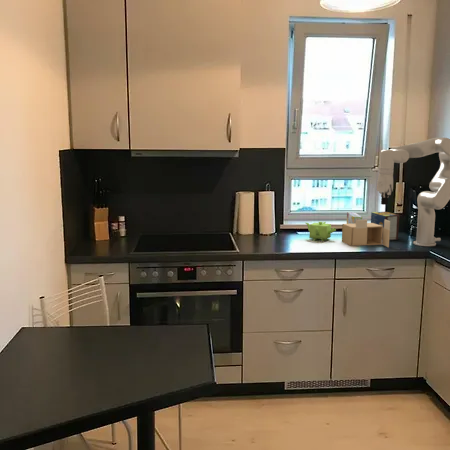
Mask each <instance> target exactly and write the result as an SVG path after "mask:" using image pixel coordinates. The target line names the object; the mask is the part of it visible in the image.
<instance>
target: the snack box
mask: <svg viewBox="0 0 450 450" xmlns="http://www.w3.org/2000/svg"><path fill="white" fill-rule="evenodd" d="M356 220H363V216H362V215H360V214H358V213H356V212H355V211H349V212H346V224H355V223H356Z"/></svg>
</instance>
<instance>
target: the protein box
mask: <svg viewBox="0 0 450 450" xmlns="http://www.w3.org/2000/svg"><path fill="white" fill-rule="evenodd" d="M384 220H388V221H390V235H389V241H394V240H399V227H400V214H397V213H392V212H388V211H373V212H372V211H371V213H370V223H375V224H378V225H381V226H383V228H384ZM382 238H383V234H382Z"/></svg>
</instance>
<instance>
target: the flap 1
mask: <svg viewBox="0 0 450 450" xmlns="http://www.w3.org/2000/svg"><path fill="white" fill-rule="evenodd" d="M367 223H368V219H362V220H356V228H353V240H352V246H351V247H354V245H360V246H368V245H367Z"/></svg>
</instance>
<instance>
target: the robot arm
mask: <svg viewBox="0 0 450 450" xmlns="http://www.w3.org/2000/svg"><path fill="white" fill-rule="evenodd" d="M435 153H438V157H439V158H438V159H439V161H440V162H439V163H440V164H439V168H438V170H437V171H436V173H435V175H434V176H433V178H432V179H431V181H430V182H429V186H428V187H429V189H430V191H429V190H424V191H421V192H420V193H419V194H418V195H417V200H416V201H417V203H416V204H417V210H418V211H417V225H416V226H417V227H416V240H414V241H412V244H413V245H415V246H420V247H436V246H437V243H436V242H441V240H442V239H441V237H435V236H434V235H435V224H436V223H435V222H436V212H435V210H442V209H443V208H445V206H446V205H447V204H448V202H449V201H450V138H448V137H433V138H428V139H425V140H422V141H420V142H419V141H418V142H414V143H409V144H404V145H400V146H396V147H393V148H390V149H382V150H381V151H380V154H379V173H378V177H377V182H376V191H377V192H379V194H380V197H381V198H380V205H385V206H386V205H388V202H389V196H391V195H392V192H393V191H394V190H393V189H394V168H395V167H394V165H395V163H396V164H404V163H407V161H408V160H410V159H414V158H415V159H417V158H422V157H427V156H429V155H433V154H435Z"/></svg>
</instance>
